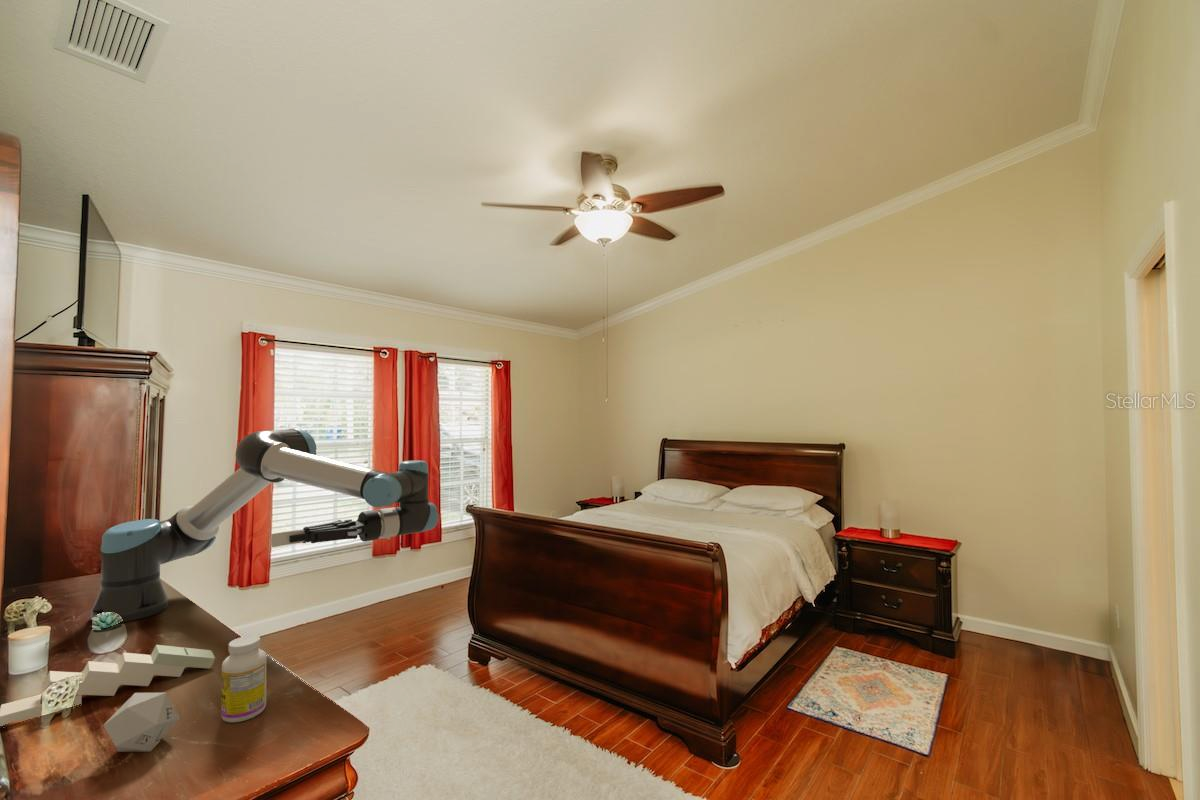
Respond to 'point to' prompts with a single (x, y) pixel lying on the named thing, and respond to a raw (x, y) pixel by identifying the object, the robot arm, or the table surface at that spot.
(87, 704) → the table surface
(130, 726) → the die
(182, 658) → the domino
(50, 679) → the domino
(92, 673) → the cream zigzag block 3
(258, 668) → the supplement bottle
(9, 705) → the domino
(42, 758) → the table surface
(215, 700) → the table surface
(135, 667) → the domino
